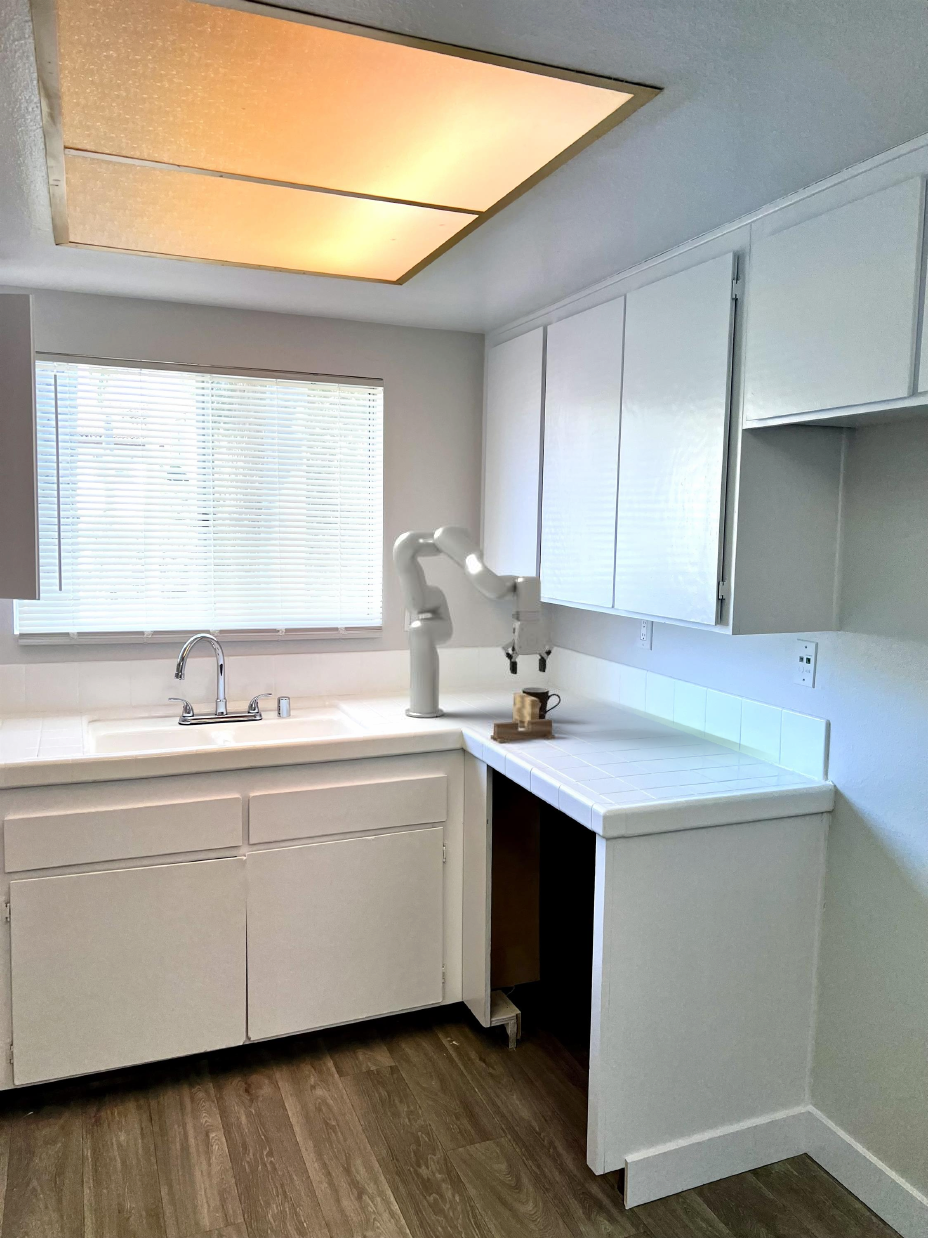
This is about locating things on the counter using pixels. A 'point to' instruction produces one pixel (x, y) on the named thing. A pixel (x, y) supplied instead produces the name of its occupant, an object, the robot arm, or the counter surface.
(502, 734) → the walnut notched block
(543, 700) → the coffee mug
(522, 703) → the oak slotted plate
